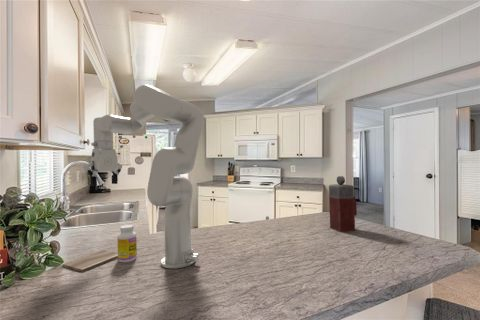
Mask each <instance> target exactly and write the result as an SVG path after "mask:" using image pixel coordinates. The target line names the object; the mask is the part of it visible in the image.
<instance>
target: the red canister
mask: <svg viewBox="0 0 480 320" xmlns="http://www.w3.org/2000/svg"><path fill="white" fill-rule="evenodd" d="M336 182H337V184H329V186H328V201H329V202H328V204H329V228H330V229H332V230H334V231H336V232H339V233H346V232H355V231H356V219H355V216H356V217H357V215H358V214H357V213H358V212H357V211H358V210H357V199H356V197H355V189H354V188H355V187H354V185H352V184H346V179H345V177H344V176H343V175H341V176H340V175H339V176H337V177H336Z"/></svg>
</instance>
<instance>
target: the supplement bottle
mask: <svg viewBox="0 0 480 320" xmlns="http://www.w3.org/2000/svg"><path fill="white" fill-rule="evenodd" d="M134 228H135V227H134V224H126V225H122V226H120V228H119V229H120V230H119V231H120V233H118V234H117V253H118V258H117V261H118V263H130V262H133V261H134V260H136V259H137V257H138V256H137V253H138V252H137V251H138V250H137V233H136V232H135V231H134Z"/></svg>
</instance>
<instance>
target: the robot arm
mask: <svg viewBox="0 0 480 320" xmlns="http://www.w3.org/2000/svg"><path fill="white" fill-rule="evenodd" d="M129 111H130V112H129V113H130V114H131V116H130V117H125V116H120V115H113V114H105V115H103V116H101V117H95V118H94V119H93V125H92V126H93V142H91V146H93V148H92V150H91V156H90V162H89V163H87V164H85V165H83V169H84V171H85V173H86V175H88V177H89V179H90V180H89V183H90V186H92V187H96V186H97V185H98V177H97V176H96V175H97V174H98V172H110V173H111V184H112V185H118V180H119V178H118V176H119V174H120V173H121V171H122V169H123V164H121V163H119V162H118V155H117V151H116V149H115V148H114V134H120V135H121V134H122V135H132V134H134V133H137V132H139V131H140V130H142V129H143V128H145V126H146V123H147V121H149V120H151V119H152V118H155V117H157V118H158V119H162V120H164V121H169V122H172V123H178V124H180V125H181V127H180V128H179V130H178V131H177V133H176V134H175V139H174V144H173V147H170V146H169V147H168V146H167V147H163V148H160V149H159V150H158V151H157V152H156V154H155V155H154V157H153V159H152V162H151V163H152V164H151V167H150V173H149V179H148V184H147V191H146V195H147V198H148V201H149V202H150V204H151V205H153V206H155V207H164V206H165V209H164V214H163V215H164V219H163V220H164V225H163V226H164V227H163V228H164V257H163V258H161V260H160V266H161V267H163V268H166V269H173V270H174V269H182V268H185V267H188V266H192V265H193V264H194V263H197V262H198V260H199V257H200V254H199V253H195V252H194V248H192V225H191V224H192V223H191V220H192V217H191V210H192V209H191V207H192V199H193V192H194V191H193V185H192V182H191V181H190V180H189V179H188V178H186V177H184V176H177V175H185V174H190V173H191V172H192V171H193V170H194V167H195V162H196V159H197V153H198V149H199V143H200V141H201V140H200V139H201V136H202V132H203V128H204V122H205V119H204V116H203V115H204V114H203V113H202V111H201V109H200V108H199V107H198V106H196V105H195V104H193V103H191V102H190V101H187V100H185V99H181V98H179V97H176V96H173V95H170V94H169V93H168V92H166V91H165V90H163V89H161V88H157V87H155V86H153V85H149V84H142V85H140V86H138V87H137V88H136V89H135V90H134V93H133V102H132V103H130V106H129Z"/></svg>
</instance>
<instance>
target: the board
mask: <svg viewBox="0 0 480 320" xmlns="http://www.w3.org/2000/svg"><path fill="white" fill-rule="evenodd" d="M115 260H118V252H115V251H111V250H106V249H102V250H99V251H96V252H94V253H92V254H88V255H85V256H83V257H79V258H77V259H74V260H72V261H69V262H65V263H62V267H63V268H66V269H71V270H72V271H73V270H74V271H77V272H81V273H84V272H86V271H89V270H91V269H94V268H97V267H100V266H102V265H104V264H107V263H109V262H112V261H115Z"/></svg>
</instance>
